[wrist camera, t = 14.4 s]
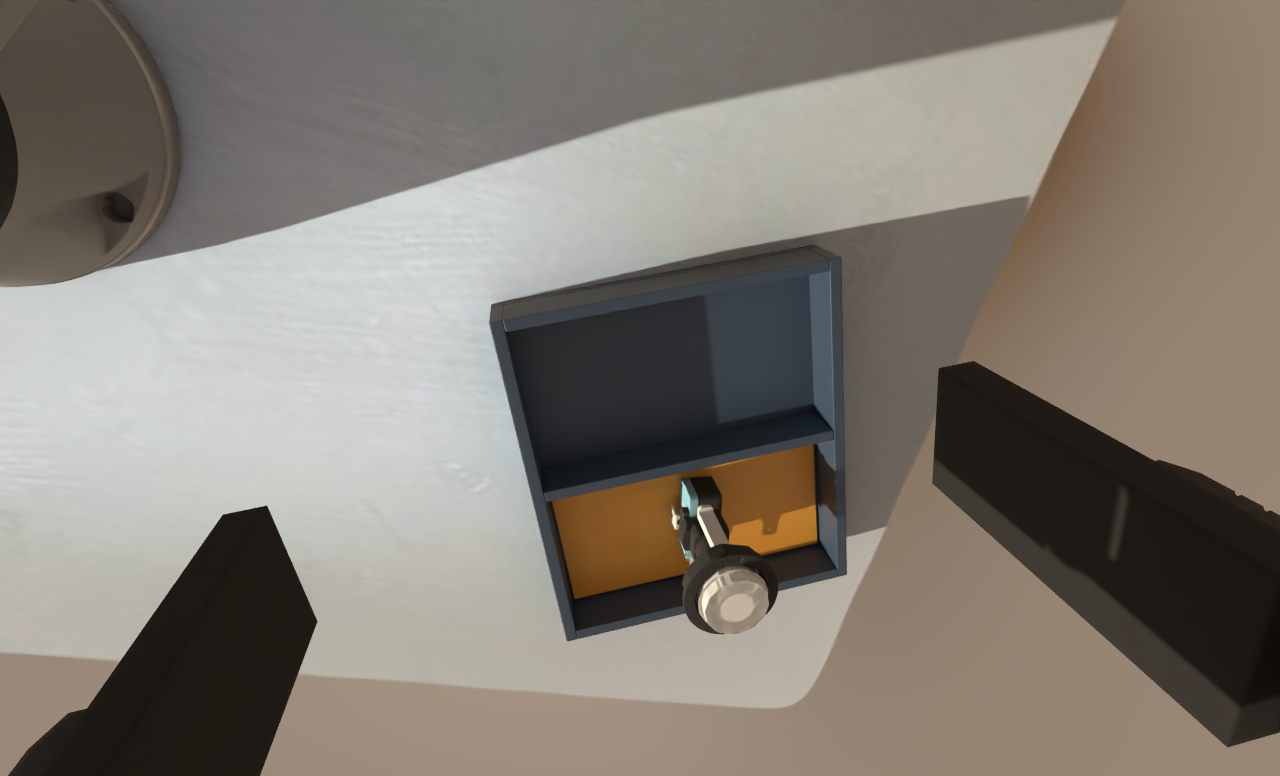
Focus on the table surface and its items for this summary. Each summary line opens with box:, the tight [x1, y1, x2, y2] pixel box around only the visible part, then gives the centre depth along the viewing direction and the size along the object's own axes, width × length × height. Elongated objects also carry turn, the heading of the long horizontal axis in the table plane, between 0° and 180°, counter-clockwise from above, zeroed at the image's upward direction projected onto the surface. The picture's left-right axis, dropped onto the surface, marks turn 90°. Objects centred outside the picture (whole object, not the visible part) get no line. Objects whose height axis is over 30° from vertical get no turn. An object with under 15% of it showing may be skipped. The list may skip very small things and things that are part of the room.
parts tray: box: [489, 245, 847, 641], centre depth 42 cm, size 19×22×4 cm
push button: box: [670, 476, 778, 634], centre depth 40 cm, size 7×5×10 cm
